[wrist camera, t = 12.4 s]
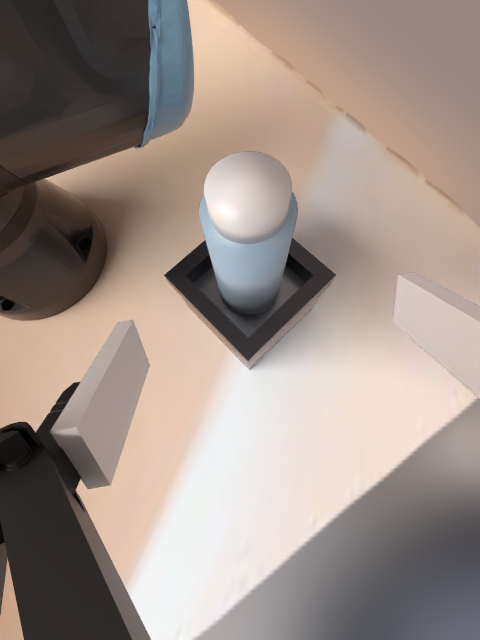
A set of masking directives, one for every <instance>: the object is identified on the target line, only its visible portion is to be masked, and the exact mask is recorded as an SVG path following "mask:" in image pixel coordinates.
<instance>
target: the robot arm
mask: <svg viewBox="0 0 480 640" xmlns="http://www.w3.org/2000/svg"><path fill="white" fill-rule="evenodd" d="M193 92H194V61H193V46H192V36H191V27H190V19H189V10H188V4H187V0H0V315H1V316H4V317H6V318H10V319H14V320H38V319H43V318H46V317H50V316H53V315H55V314H58V313H60V312H62V311H64V310H66V309H67V308H69V307H70V306H72V305H73V304H75V303H76V302H77V301H79V300H80V299H81V298H82V297H83V296H84V295H85V294H86V293H87V292H88V291H89V290H90V288H91V287H92V286H93V284H94V283H95V281H96V280H97V278H98V276H99V274H100V272H101V270H102V268H103V265H104V261H105V257H106V237H105V233H104V230H103V228H102V226H101V224H100V222H99V220H98V219H97V218H96V217H95V215H94V214H93V213H92V212H91V211H90V209H89V208H88V207H87V206H86V205H85V204H84V203H83V202H82V201H81V200H79V199H78V198H77V197H76V196H74V195H72V194H71V193H69V192H67V191H65V190H64V189H62V188H60V187H58V186H57V185H55V184H53V183H51V182H50V181H48V180H46V179H44V178H47V177H50V176H53V175H56V174H58V173H61V172H64V171H67V170H70V169H72V168H75V167H78V166H81V165H84V164H87V163H89V162H92V161H95V160H98V159H101V158H103V157H106V156H109V155H112V154H115V153H117V152H120V151H123V150H126V149H129V148H131V147H135V148H142V147H144V146H145V145H146V144H148V142H149V141H150V140H153V139H155V138H158V137H160V136H162V135H165V134H167V133H170V132H172V131H174V130H176V129H178V128H179V127H180V126H181V125H182V124H183V122H184V120H185V119H186V118H187V117H188V115H189V113H190V110H191V106H192V100H193ZM393 324H394V325H395V326H396V327H397V328H398V329H400V330H401V331H402V332H403V333H404V334H405V335H406V336H408V337H409V338H410V339H411V340H412V341H413V342H415V343H416V344H417V345H418V346H419V347H420V348H421V349H423V350H424V351H425V352H426V353H427V354H428V355H429V356H431V357H432V358H433V359H434V360H435V361H436V362H437V363H439V364H440V365H441V366H442V367H443V368H444V369H445V370H447V371H448V372H449V373H450V374H451V375H452V376H453V377H455V378H456V379H457V380H458V381H459V382H460V383H462V384H463V385H464V386H465V387H466V388H467V389H468V390H470V391H471V392H472V393H473V394H474V395H475V396H476V397H478V398H479V399H480V306H478V305H476V304H474V303H472V302H470V301H468V300H466V299H464V298H463V297H461V296H459V295H457V294H455V293H453V292H451V291H449V290H447V289H445V288H443V287H442V286H440V285H438V284H436V283H434V282H432V281H430V280H428V279H426V278H424V277H422V276H420V275H419V274H417V273H415V272H410V273H405V274H399V275H398V281H397V290H396V298H395V307H394V316H393ZM149 366H150V364H149V362H148V359H147V356H146V354H145V351H144V348H143V345H142V343H141V340H140V337H139V335H138V332H137V329H136V326H135V324H134V321H133V320H130V321H124V322H119V323H117V325H116V326H115V328H114V329H113V331H112V333H111V334H110V336H109V337H108V339H107V341H106V342H105V344H104V345H103V347H102V349H101V350H100V352H99V353H98V355H97V357H96V358H95V360H94V361H93V363H92V365H91V366H90V368H89V369H88V371H87V373H86V374H85V376H84V378H83V379H82V381H81V382H76V383H73V384H72V385H71V386H70V387H69V388H67V389H66V390H65V391H64V392H63V393H62V394H61V396H60V397H59V399H58V400H57V402H56V405H54V406H53V408H52V409H51V411H50V413H49V414H48V415H47V417H46V418H45V420H44V421H43V423H42V424H41V426H40V427H39V429H38V430H37V431H36V433H35V431H34V430H33V429H32V427H31V426H30V425H29V424H28V423H27V422H17V423H13V424H10V425H7V426H5V427H3V428H1V429H0V614H1V606H2V598H3V590H4V582H5V574H6V565H7V557H8V561H9V566H10V571H11V576H12V581H13V586H14V591H15V596H16V601H17V606H18V611H19V616H20V621H21V626H22V631H23V636H24V640H151V639H150V637H149V635H148V633H147V631H146V629H145V627H144V625H143V623H142V621H141V619H140V617H139V615H138V613H137V611H136V609H135V607H134V605H133V603H132V601H131V599H130V597H129V594H128V592H127V590H126V588H125V586H124V584H123V582H122V580H121V578H120V576H119V574H118V572H117V570H116V568H115V566H114V564H113V562H112V560H111V558H110V556H109V554H108V552H107V550H106V548H105V546H104V544H103V542H102V540H101V538H100V536H99V534H98V532H97V530H96V528H95V526H94V524H93V522H92V520H91V518H90V516H89V514H88V512H87V510H86V508H85V506H84V504H83V502H82V500H81V498H80V496H79V495H78V493H77V492H76V488H77V486H78V483H79V481H80V479H81V480H82V481H83V483H84V484H85V486H86V487H87V489H91V488H97V487H103V486H109V485H111V482H112V479H113V476H114V473H115V470H116V467H117V464H118V461H119V458H120V455H121V452H122V449H123V446H124V443H125V440H126V436H127V433H128V430H129V427H130V424H131V421H132V418H133V415H134V412H135V409H136V406H137V403H138V400H139V397H140V393H141V390H142V387H143V384H144V381H145V378H146V375H147V372H148V369H149Z"/></svg>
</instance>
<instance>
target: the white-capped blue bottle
mask: <svg viewBox="0 0 480 640" xmlns="http://www.w3.org/2000/svg"><path fill="white" fill-rule="evenodd" d="M297 214H298V207H297V201H296V198H295V196H294V193H293V192H292V182H291V178H290V175H289V173H288V171H287V170H286V168H285V167H284V166H283V165H282V164H281V163H280V162H279V161H278V160H276V159H275V158H273V157H271V156H269V155H267V154H264V153H260V152H252V151H246V152H238V153H234V154H231V155H229V156H226V157H225V158H223V159H221V160H220V161H218V162H217V163H216V164H215V165H214V166H213V167H212V168H211V170H210V171H209V173H208V174H207V177H206V179H205V183H204V195H203V197H202V199H201V202H200V207H199V217H200V222H201V226H202V229H203V233H204V236H205V240H206V244H207V247H208V251H209V254H210V258H211V262H212V265H213V269H214V272H215V276H216V279H217V283H218V287H219V290H220V294H221V297H222V299H223V301H224V302H225V304H226V305H227V306H228V307H229V308H230V309H232V310H233V311H235V312H238V313H241V314H246V315H253V314H258V313H261V312H263V311H265V310H267V309H268V308H269V307H271V306H272V304H273V303H274V302H275V301H276V299H277V296H278V294H279V289H280V285H281V281H282V277H283V273H284V269H285V265H286V261H287V257H288V252H289V248H290V244H291V240H292V236H293V232H294V228H295V224H296V220H297Z"/></svg>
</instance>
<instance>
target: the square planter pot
mask: <svg viewBox="0 0 480 640" xmlns="http://www.w3.org/2000/svg"><path fill="white" fill-rule="evenodd" d="M164 276H165V277H166V279H167V280H168V282H169V283H170V285H171V286H172V287H173V288H174V289H175V290H176V291H177V292H178V293H179V294H180V295H181V296H182V298H183V299H184V301H185V302H186V304H187V305H188V307H189V308H190V309H191V310H192V311H193V312H194V313H195V314H196V315H197V316H198V317H199V318H200V319H201V320H202V321H203V322H204V323H205V324H206V326H207V327H208V328H209V329H210V330H211V331H212V332H213V333H214V334H215V335H216V336H217V337H218V338H219V339H220V340H221V341H222V342H223V343H224V344H225V345H226V346H227V347H228V348H229V349H230V350H231V351H232V352H233V353H234V354H235V355H236V356H237V357H238V359H239V360H240V361H241V362H242V363H243V364H244V365H245V366H246V367H247V368H248V369H249V370H250V369H251V368H252V367H253V366H254V365H255V364H256V363H257V362H258V361H259V360H260V359H261V358H262V357H263V356H264V355H265V354H266V353H267V352H268V351H269V350H270V349H271V348H272V347H273V346H274V345H275V344H276V343H277V342H278V341H279V340H280V339H281V338H282V337H283V336H284V335H285V334H286V333H287V332H288V331H290V330H291V329H292V328H293V327H294V326H295V325H296V324H297V323H298V322H299V321H300V320H301V319H302V318H303V317H304V316H305V315H306V314H307V313H308V312H309V311H310V310H311V309H312V308H313V306H314V304H315V303H316V301H317V299H318V298H319V296H320V294H321V293H322V292H323V291H324V290H325V289H326V288H327V287H328V286H329V285H330V284H331V282H332V281H333V279H334V278H335V276H336V274H334V273H333V272H332V271H331V270H330V269H328V268H327V267H326V266H325V265H324V264H323V263H321V262H320V261H319V260H318V259H317V258H315V257H314V256H313V255H312V254H311V253H309V252H308V251H307V250H306V249H305V248H303V247H302V246H301V245H300V244H299V243H298V242H296V241H295V240H294V239H293V238H292V240H291V244H290V248H289V252H288V257H287V261H286V265H285V269H284V273H283V277H282V281H281V285H280V289H279V294H278V296H277V299H276V301H275V302H274V303H273V304H272V306H271V307H269V308H268V309H267V310H265V311H263V312H261V313H258V314H253V315H246V314H241V313H238V312H235V311H233V310H232V309H230V308H229V307H228V306H227V305H226V304H225V302H224V301H223V299H222V297H221V294H220V290H219V287H218V283H217V279H216V276H215V272H214V269H213V265H212V262H211V258H210V254H209V251H208V247H207V244H206V240H205V241H204V242H202V243H201V244H200V245H199V246H198V247H197V248H195V249H194V250H193V251H192V252H191V253H190V254H188V255H187V256H186V257H185V258H184V259H183V260H181V261H180V262H179V263H178V264H177V265H176V266H174V267H173V268H172V269H171V270H170V271H169V272H167V273H166V274H165V275H164Z"/></svg>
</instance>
